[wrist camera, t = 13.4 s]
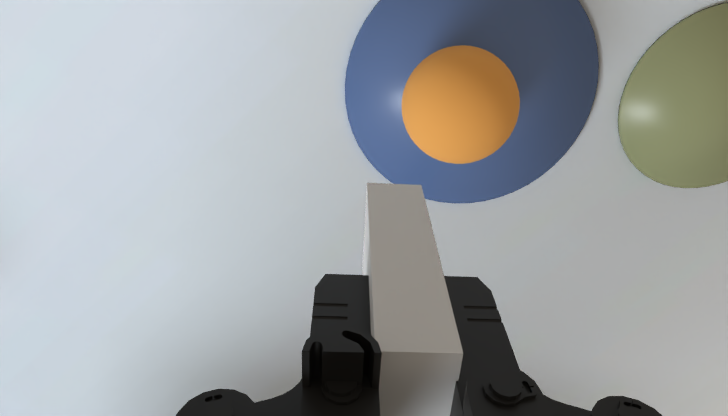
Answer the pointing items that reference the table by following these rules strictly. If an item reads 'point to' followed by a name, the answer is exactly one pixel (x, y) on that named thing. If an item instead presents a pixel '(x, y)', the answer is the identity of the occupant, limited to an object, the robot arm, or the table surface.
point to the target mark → (512, 46)
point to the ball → (460, 104)
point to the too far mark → (680, 104)
